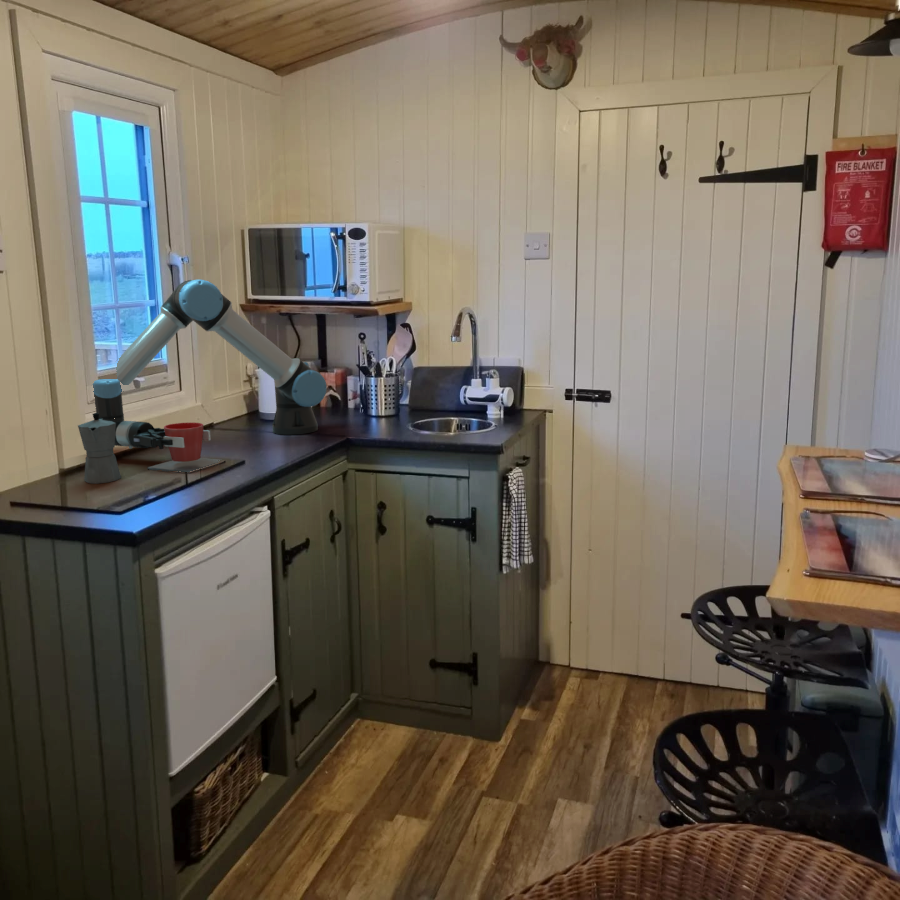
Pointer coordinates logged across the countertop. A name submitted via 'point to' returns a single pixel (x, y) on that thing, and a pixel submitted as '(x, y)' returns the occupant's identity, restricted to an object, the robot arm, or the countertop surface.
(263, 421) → the countertop surface
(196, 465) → the slate coaster
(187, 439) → the flower pot
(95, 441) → the coffeepot
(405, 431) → the countertop surface
